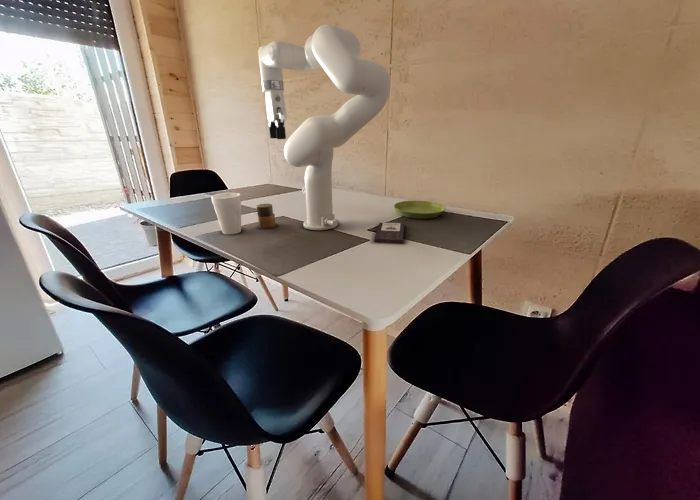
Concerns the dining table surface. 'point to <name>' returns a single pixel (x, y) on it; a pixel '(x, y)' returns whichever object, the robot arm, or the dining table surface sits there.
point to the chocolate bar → (390, 233)
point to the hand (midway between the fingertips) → (277, 138)
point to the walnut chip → (264, 210)
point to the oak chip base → (267, 225)
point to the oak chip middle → (266, 219)
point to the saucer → (419, 209)
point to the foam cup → (228, 211)
